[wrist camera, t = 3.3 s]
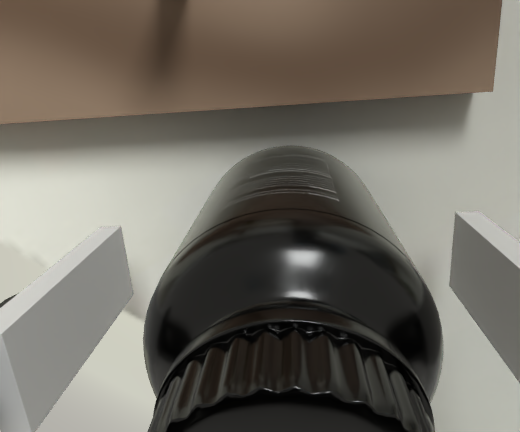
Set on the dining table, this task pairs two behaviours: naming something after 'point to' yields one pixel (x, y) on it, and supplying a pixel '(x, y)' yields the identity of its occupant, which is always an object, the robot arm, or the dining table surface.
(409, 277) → the supplement bottle
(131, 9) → the pin board
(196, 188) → the dining table surface
